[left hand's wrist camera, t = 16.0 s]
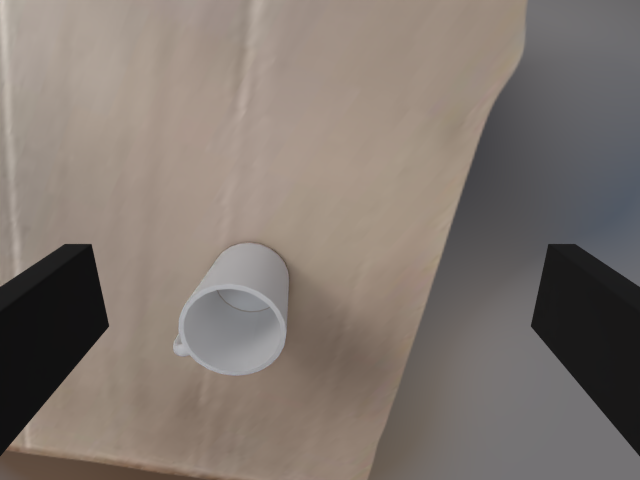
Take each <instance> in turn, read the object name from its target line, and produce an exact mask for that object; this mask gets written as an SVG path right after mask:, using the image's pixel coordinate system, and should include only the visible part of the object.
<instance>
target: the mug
mask: <svg viewBox="0 0 640 480" xmlns="http://www.w3.org/2000/svg"><path fill="white" fill-rule="evenodd" d="M288 292H289V273H288V269H287V266H286V264H285V262H284V260H283V259H282V258H281V257H280V255H279V254H278V253H276V252H275V251H274V250H272V249H271V248H269V247H267V246H265V245H262V244H259V243H253V242H245V243H238V244H236V245H233V246H230V247H229V248H227V249H226V250H224V251H223V252H222V253H221V254H220V256H219V257H218V258H217V259H216V261H215V262H214V264H213V265H212V267H211V268H210V269H209V271H208V272H207V274H206V275H205V277H204V278H203V279H202V281H201V282H200V284H199V285H198V287H197V288H196V289H195V291H194V292H193V294H192V295H191V297H190V298H189V299H188V301H187V302H186V304H185V305H184V307H183V310H182V312H181V315H180V317H179V329H178V330H179V334H178V336H177V337H176V339H175V341H174V344H173V350H174V353H175V354H177V355H178V356H188V355H190V356H191V357H192V358H193V359H194V360H195V361H196V362H198V363H199V364H201V365H202V366H204V367H205V368H207V369H209V370H212V371H215V372H217V373H220V374H226V375H233V376H236V375H248V374H251V373H255V372H258V371H261V370H262V369H264V368H266V367H267V366H269V365H271V364H272V363H273V361H274V360H275V359H276V358H277V357H278V356H279V355H280V353H281V351H282V349H283V347H284V344H285V338H286V332H287V313H288Z"/></svg>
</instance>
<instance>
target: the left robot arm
mask: <svg viewBox="0 0 640 480" xmlns="http://www.w3.org/2000/svg"><path fill="white" fill-rule="evenodd" d="M108 327H109V323H108V319H107V314H106V309H105V305H104V300H103V295H102V291H101V286H100V281H99V277H98V272H97V267H96V263H95V258H94V253H93V249H92V244H64V245H63V246H61V247H60V248H58V249H57V250H55V251H54V252H52V253H51V254H49V255H48V256H46V257H45V258H43V259H42V260H40V261H39V262H37V263H36V264H34V265H33V266H31V267H30V268H28V269H27V270H25V271H24V272H22V273H21V274H19V275H18V276H16V277H15V278H13V279H12V280H10V281H9V282H7V283H6V284H4V285H3V286H1V287H0V456H1V455H2V454H3V452H4V451H5V450H6V449H7V448H8V446H9V445H10V444H11V443H12V442H13V440H14V439H15V438H16V437H17V436H18V434H19V433H20V432H21V431H22V430H23V428H24V427H25V426H26V425H27V424H28V422H29V421H30V420H31V419H32V418H33V417H34V415H35V414H36V413H37V412H38V411H39V409H40V408H41V407H42V406H43V405H44V403H45V402H46V401H47V400H48V399H49V397H50V396H51V395H52V394H53V393H54V391H55V390H56V389H57V388H58V387H59V385H60V384H61V383H62V382H63V381H64V380H65V378H66V377H67V376H68V375H69V374H70V372H71V371H72V370H73V369H74V368H75V366H76V365H77V364H78V363H79V362H80V360H81V359H82V358H83V357H84V356H85V354H86V353H87V352H88V351H89V350H90V348H91V347H92V346H93V345H94V344H95V343H96V341H97V340H98V339H99V338H100V337H101V335H102V334H103V333H104V332H105V331H106V329H107V328H108ZM531 327H532V328H533V329H534V331H535V332H536V333H537V334H538V335H539V337H540V338H541V339H542V340H543V341H544V342H545V344H546V345H547V346H548V347H549V348H550V350H551V351H552V352H553V353H554V354H555V356H556V357H557V358H558V359H559V360H560V362H561V363H562V364H563V365H564V366H565V368H566V369H567V370H568V371H569V372H570V373H571V375H572V376H573V377H574V378H575V380H576V381H577V382H578V383H579V384H580V385H581V387H582V388H583V389H584V390H585V391H586V393H587V394H588V395H589V396H590V397H591V399H592V400H593V401H594V402H595V403H596V405H597V406H598V407H599V408H600V409H601V411H602V412H603V413H604V414H605V415H606V417H607V418H608V419H609V420H610V421H611V422H612V424H613V425H614V426H615V427H616V428H617V430H618V431H619V432H620V433H621V434H622V436H623V437H624V438H625V439H626V440H627V442H628V443H629V444H630V445H631V446H632V448H633V449H634V450H635V451H636V452H637V453H638V455H639V456H640V287H639V286H637V285H636V284H634V283H633V282H631V281H630V280H628V279H627V278H625V277H624V276H622V275H621V274H619V273H618V272H616V271H615V270H613V269H612V268H610V267H609V266H607V265H606V264H604V263H603V262H601V261H600V260H598V259H597V258H595V257H594V256H592V255H591V254H589V253H588V252H586V251H585V250H583V249H582V248H580V247H579V246H577V245H576V244H548V249H547V253H546V258H545V263H544V267H543V272H542V277H541V281H540V286H539V291H538V295H537V300H536V305H535V309H534V314H533V319H532V323H531Z"/></svg>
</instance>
